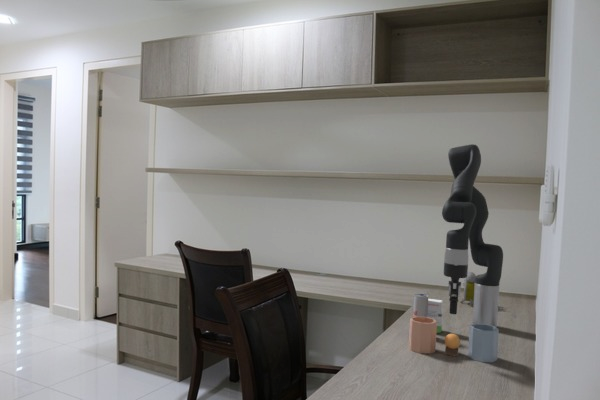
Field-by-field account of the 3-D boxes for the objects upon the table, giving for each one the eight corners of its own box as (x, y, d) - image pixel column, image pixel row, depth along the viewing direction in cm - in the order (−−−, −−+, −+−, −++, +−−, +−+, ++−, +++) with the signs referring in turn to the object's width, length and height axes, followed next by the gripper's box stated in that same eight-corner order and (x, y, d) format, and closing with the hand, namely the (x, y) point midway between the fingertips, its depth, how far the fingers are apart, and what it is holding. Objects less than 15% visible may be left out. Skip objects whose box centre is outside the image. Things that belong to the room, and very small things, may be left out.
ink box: (442, 330, 190) (443, 299, 190) (440, 333, 185) (442, 302, 185) (419, 326, 193) (421, 297, 193) (417, 330, 189) (419, 299, 188)
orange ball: (448, 345, 167) (449, 330, 166) (462, 349, 163) (463, 334, 163) (441, 348, 163) (441, 333, 163) (455, 352, 160) (455, 337, 159)
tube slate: (476, 351, 166) (477, 322, 166) (500, 358, 160) (502, 328, 160) (464, 356, 160) (466, 326, 160) (489, 364, 154) (490, 332, 154)
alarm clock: (475, 307, 230) (477, 275, 229) (460, 305, 232) (461, 273, 232) (474, 301, 241) (476, 271, 241) (460, 300, 243) (461, 270, 243)
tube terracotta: (417, 343, 172) (419, 315, 172) (439, 350, 166) (440, 320, 166) (404, 348, 166) (406, 319, 166) (426, 355, 160) (427, 324, 160)
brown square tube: (445, 350, 166) (445, 344, 166) (457, 352, 164) (458, 346, 164) (445, 354, 162) (445, 348, 162) (457, 356, 161) (458, 350, 161)
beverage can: (416, 331, 186) (418, 292, 185) (428, 335, 183) (430, 294, 182) (409, 334, 182) (411, 294, 181) (422, 338, 179) (424, 297, 178)
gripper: (444, 258, 170) (442, 304, 171) (443, 263, 157) (440, 314, 157) (467, 260, 168) (464, 307, 168) (468, 266, 154) (465, 317, 155)
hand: (453, 310), depth 163 cm, fingers open, 8 cm apart
